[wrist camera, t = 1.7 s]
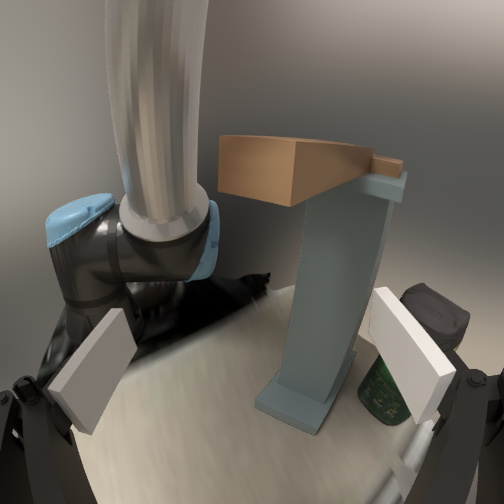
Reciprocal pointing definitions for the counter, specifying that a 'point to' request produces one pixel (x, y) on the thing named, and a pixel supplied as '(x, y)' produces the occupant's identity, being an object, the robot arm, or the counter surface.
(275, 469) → the counter surface
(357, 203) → the stand
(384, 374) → the coffee jar
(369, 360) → the counter surface
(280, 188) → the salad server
